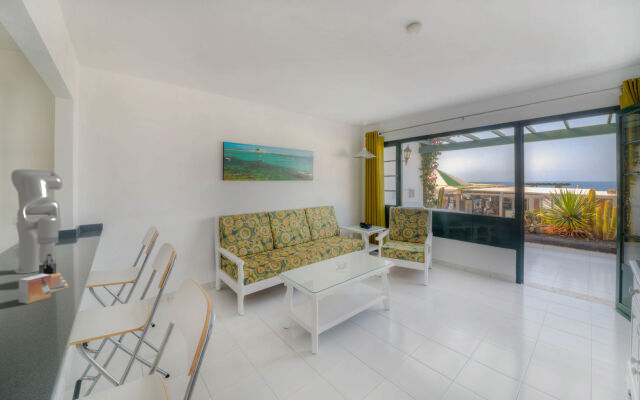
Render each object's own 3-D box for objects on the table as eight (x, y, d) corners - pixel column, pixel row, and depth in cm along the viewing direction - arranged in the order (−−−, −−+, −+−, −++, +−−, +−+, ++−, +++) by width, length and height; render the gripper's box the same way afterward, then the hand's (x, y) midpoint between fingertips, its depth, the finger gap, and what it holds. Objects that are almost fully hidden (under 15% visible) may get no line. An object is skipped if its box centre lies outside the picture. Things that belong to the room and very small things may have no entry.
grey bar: (35, 280, 128) (36, 265, 128) (58, 276, 135) (58, 262, 135) (40, 291, 115) (40, 275, 115) (64, 286, 122) (64, 271, 121)
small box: (27, 304, 105) (27, 280, 105) (18, 302, 106) (18, 279, 106) (51, 296, 113) (51, 274, 113) (42, 295, 114) (42, 273, 114)
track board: (29, 278, 134) (29, 276, 134) (59, 273, 142) (59, 271, 142) (35, 295, 114) (35, 293, 114) (69, 288, 123) (69, 286, 123)
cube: (43, 285, 120) (43, 275, 120) (58, 282, 124) (58, 273, 124) (44, 288, 117) (44, 277, 117) (59, 285, 121) (60, 275, 121)
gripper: (35, 239, 132) (35, 272, 133) (38, 244, 122) (38, 279, 123) (55, 237, 138) (55, 268, 139) (60, 242, 128) (60, 276, 129)
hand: (47, 273), depth 131 cm, fingers open, 5 cm apart
